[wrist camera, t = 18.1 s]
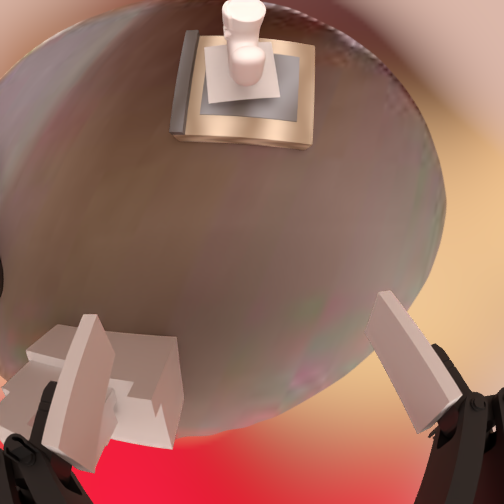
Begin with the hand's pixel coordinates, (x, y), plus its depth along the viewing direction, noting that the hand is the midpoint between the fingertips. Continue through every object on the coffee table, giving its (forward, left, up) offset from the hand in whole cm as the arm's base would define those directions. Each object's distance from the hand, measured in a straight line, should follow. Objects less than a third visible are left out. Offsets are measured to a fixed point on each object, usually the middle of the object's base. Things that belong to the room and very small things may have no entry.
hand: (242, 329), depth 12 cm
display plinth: (-1, +20, -24) cm, 31 cm away
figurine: (-1, +19, -20) cm, 28 cm away
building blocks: (-19, -20, -24) cm, 37 cm away
